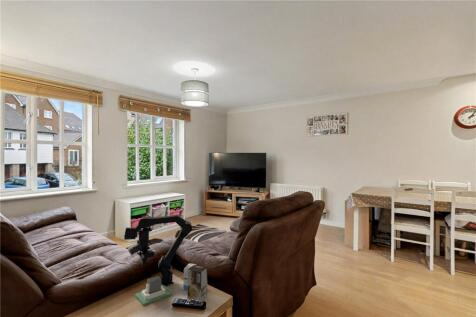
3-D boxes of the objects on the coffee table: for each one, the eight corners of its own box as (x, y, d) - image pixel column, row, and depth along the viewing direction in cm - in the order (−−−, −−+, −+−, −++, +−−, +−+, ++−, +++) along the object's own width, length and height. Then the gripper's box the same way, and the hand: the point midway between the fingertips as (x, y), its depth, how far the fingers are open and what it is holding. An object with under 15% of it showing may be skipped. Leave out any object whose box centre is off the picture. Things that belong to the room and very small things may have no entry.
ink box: (190, 290, 138) (191, 270, 139) (182, 289, 139) (183, 269, 140) (196, 283, 147) (196, 263, 147) (188, 282, 148) (189, 263, 148)
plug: (157, 290, 137) (158, 275, 137) (160, 293, 134) (161, 278, 134) (145, 294, 132) (145, 279, 132) (147, 297, 129) (148, 282, 129)
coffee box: (207, 297, 132) (208, 267, 133) (201, 303, 127) (201, 272, 127) (193, 293, 136) (194, 264, 136) (186, 298, 130) (187, 268, 131)
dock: (163, 286, 143) (163, 281, 143) (172, 295, 134) (172, 289, 134) (135, 295, 132) (135, 290, 132) (143, 305, 123) (143, 300, 123)
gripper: (124, 237, 145) (123, 263, 145) (135, 245, 131) (134, 275, 131) (143, 233, 152) (142, 258, 152) (155, 241, 138) (154, 269, 138)
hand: (143, 265), depth 143 cm, fingers closed
